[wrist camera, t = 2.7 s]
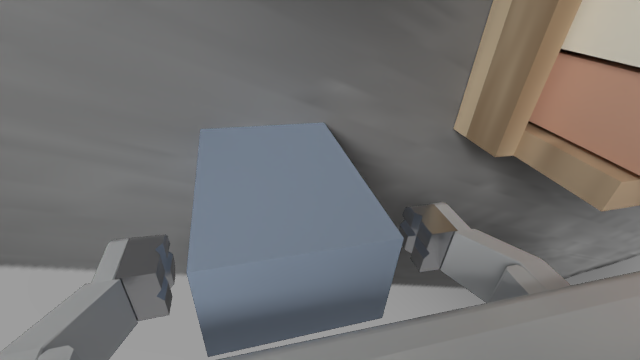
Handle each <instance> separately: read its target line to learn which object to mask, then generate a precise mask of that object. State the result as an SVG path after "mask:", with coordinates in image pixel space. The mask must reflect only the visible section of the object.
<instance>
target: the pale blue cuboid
mask: <svg viewBox="0 0 640 360" xmlns="http://www.w3.org/2000/svg"><path fill="white" fill-rule="evenodd" d="M403 239H404V238H403V236H402V235H401V233H400V232H399V230H398V229H397V228H396V226H395V225H394V223H393V222H392V220H391V219H390V217H389V216H388V215H387V213H386V212H385V210H384V209H383V207H382V206H381V204H380V203H379V201H378V200H377V199H376V197H375V196H374V194H373V193H372V191H371V190H370V188H369V187H368V186H367V184H366V183H365V181H364V180H363V178H362V177H361V175H360V174H359V172H358V171H357V170H356V168H355V167H354V165H353V164H352V162H351V161H350V159H349V158H348V156H347V155H346V154H345V152H344V151H343V149H342V148H341V146H340V145H339V143H338V142H337V141H336V139H335V138H334V136H333V135H332V133H331V132H330V130H329V129H328V127H327V126H326V125H325V123H308V124H289V125H270V126H252V127H233V128H214V129H201V130H200V140H199V150H198V160H197V171H196V181H195V191H194V201H193V212H192V222H191V232H190V242H189V252H188V263H187V277H188V280H189V284H190V288H191V292H192V296H193V300H194V304H195V308H196V312H197V316H198V320H199V324H200V328H201V331H202V335H203V339H204V343H205V347H206V351H207V355H208V357H210V356H214V355H219V354H223V353H227V352H232V351H236V350H241V349H245V348H250V347H255V346H259V345H263V344H268V343H272V342H277V341H281V340H286V339H290V338H295V337H299V336H304V335H308V334H312V333H317V332H321V331H326V330H330V329H335V328H339V327H344V326H348V325H352V324H357V323H361V322H366V321H370V320H375V319H379V318H382V316H383V313H384V309H385V305H386V302H387V298H388V294H389V290H390V287H391V283H392V280H393V276H394V272H395V269H396V265H397V261H398V258H399V254H400V250H401V247H402V243H403Z"/></svg>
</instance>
